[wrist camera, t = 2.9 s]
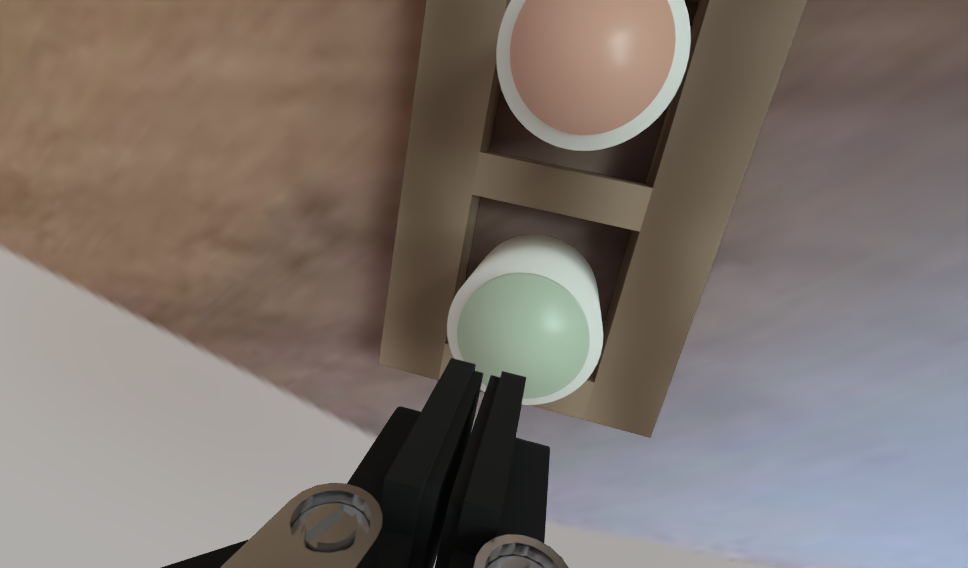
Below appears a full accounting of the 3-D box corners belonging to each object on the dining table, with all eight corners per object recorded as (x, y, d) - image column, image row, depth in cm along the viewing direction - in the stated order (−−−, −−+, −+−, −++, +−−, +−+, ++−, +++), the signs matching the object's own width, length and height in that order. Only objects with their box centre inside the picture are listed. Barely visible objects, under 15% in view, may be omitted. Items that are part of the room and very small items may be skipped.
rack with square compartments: (915, -372, 13) (971, -457, 11) (644, 411, 22) (650, 437, 20) (501, -399, 15) (489, -477, 13) (394, 345, 23) (378, 363, 21)
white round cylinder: (613, 250, 17) (623, 284, 13) (580, 365, 19) (580, 427, 15) (485, 221, 18) (458, 245, 14) (463, 335, 19) (433, 387, 15)
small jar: (683, 4, 15) (723, -47, 11) (638, 161, 16) (658, 168, 12) (532, -19, 15) (515, -78, 11) (502, 134, 17) (478, 131, 13)
